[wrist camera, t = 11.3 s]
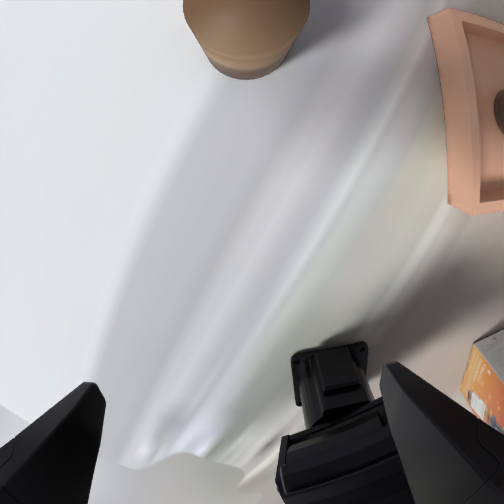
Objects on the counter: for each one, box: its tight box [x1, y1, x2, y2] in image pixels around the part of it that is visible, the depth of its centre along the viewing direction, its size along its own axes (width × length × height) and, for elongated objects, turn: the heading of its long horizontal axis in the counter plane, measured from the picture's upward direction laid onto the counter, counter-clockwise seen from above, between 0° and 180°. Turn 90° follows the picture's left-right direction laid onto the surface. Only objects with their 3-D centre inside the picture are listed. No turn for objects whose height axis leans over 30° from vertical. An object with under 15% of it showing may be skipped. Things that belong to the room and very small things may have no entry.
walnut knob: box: [183, 0, 310, 80], centre depth 12 cm, size 5×5×7 cm
